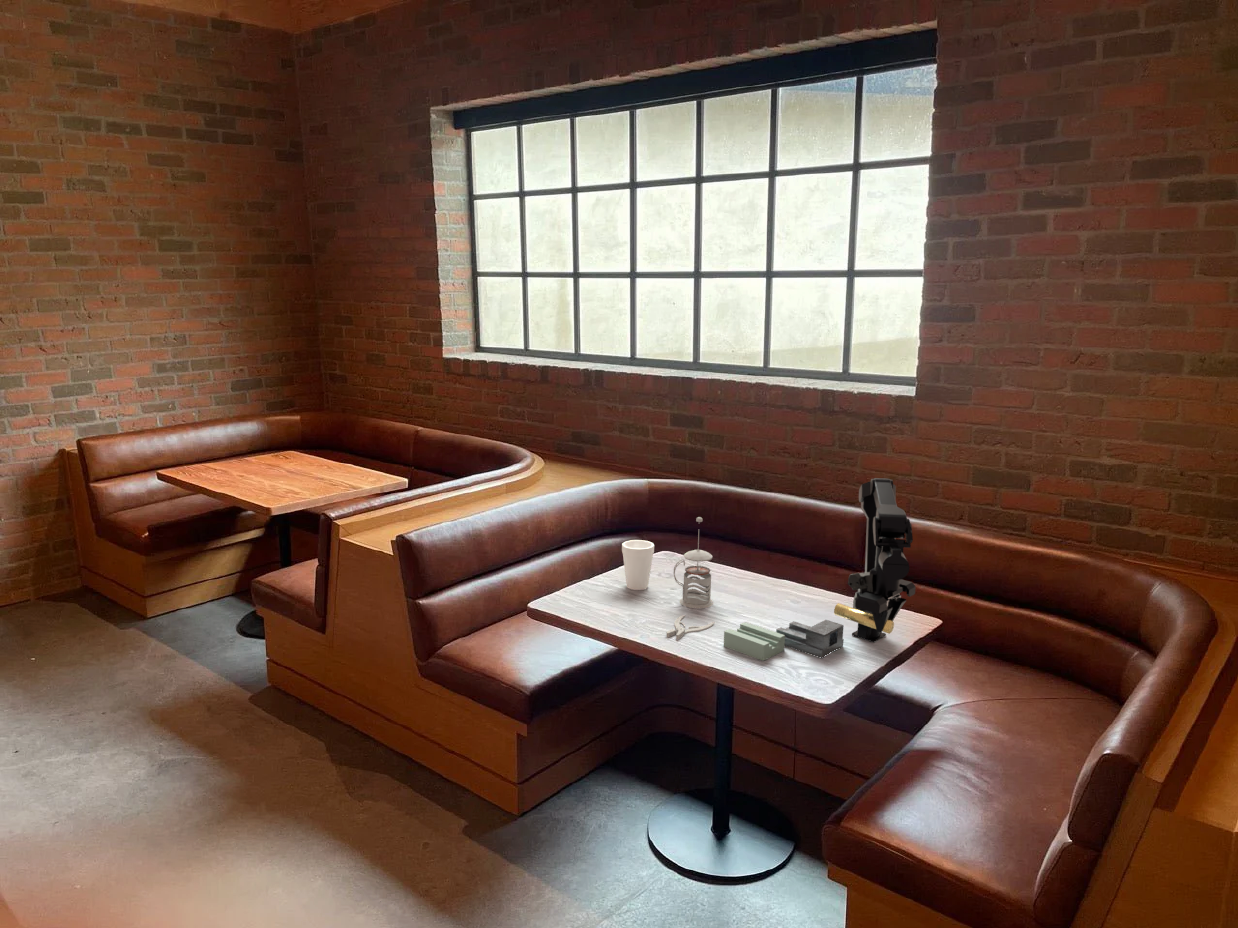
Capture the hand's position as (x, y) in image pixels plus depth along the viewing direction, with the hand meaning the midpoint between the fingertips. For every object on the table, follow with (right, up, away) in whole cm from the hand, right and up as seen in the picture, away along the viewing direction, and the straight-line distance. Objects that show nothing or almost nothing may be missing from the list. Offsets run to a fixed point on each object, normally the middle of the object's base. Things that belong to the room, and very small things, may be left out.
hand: (882, 629), depth 203 cm
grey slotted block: (-14, -7, +16) cm, 22 cm away
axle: (-4, +2, +3) cm, 5 cm away
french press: (-40, -1, +44) cm, 60 cm away
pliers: (-44, -5, +25) cm, 51 cm away
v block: (-28, -7, +13) cm, 32 cm away
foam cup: (-56, +2, +56) cm, 80 cm away
